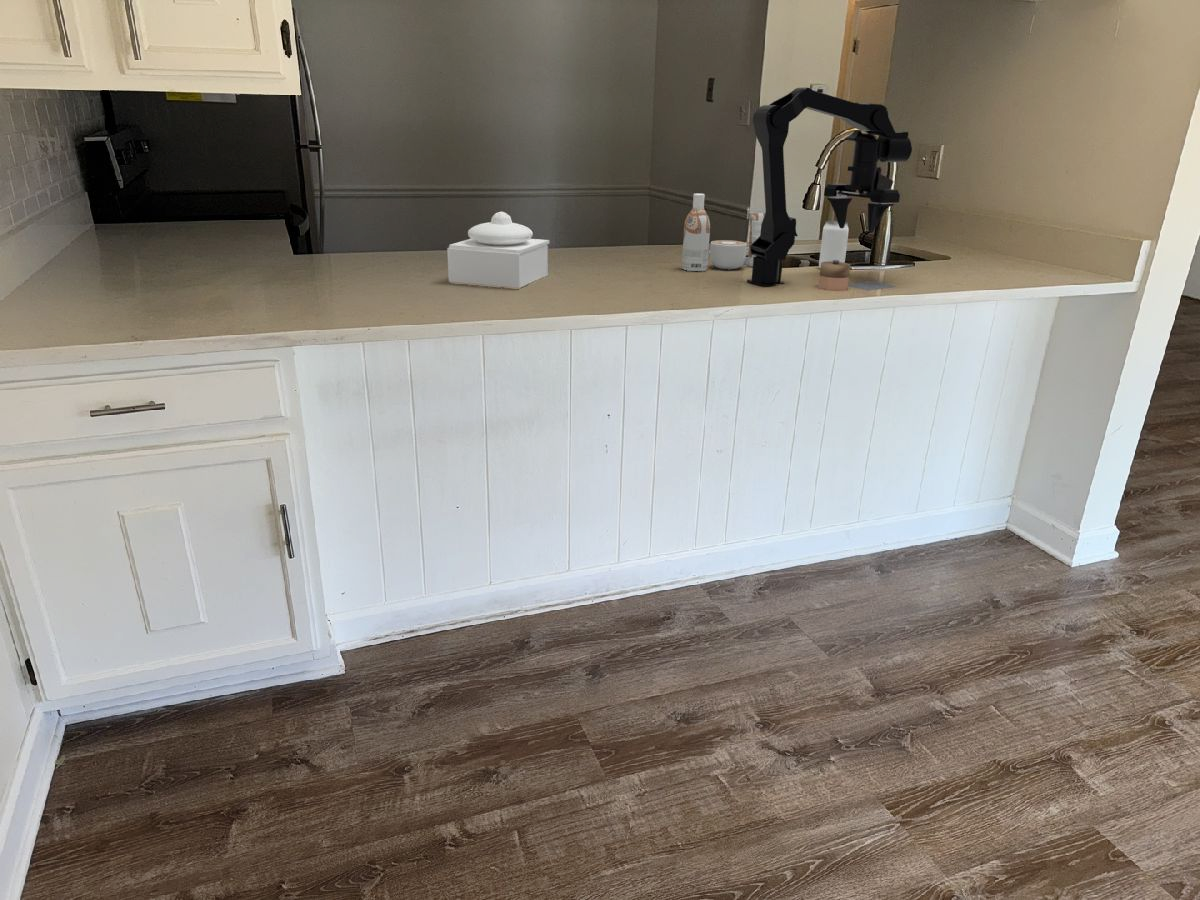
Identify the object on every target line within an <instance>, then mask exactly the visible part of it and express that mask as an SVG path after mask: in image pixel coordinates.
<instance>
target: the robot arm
mask: <svg viewBox="0 0 1200 900" xmlns="http://www.w3.org/2000/svg"><path fill="white" fill-rule="evenodd" d="M805 109H806V110H810V111H813V112H817V113H821V114H824V115H827V116H830V117H834V118H838V119H841V120H842V121H844V122H846V123H847V124H848V125H849V126H851V127H853V128H855V130H853V132H852V133H851V134H850V135H848V136H847V137H846V141H849V142H854V148H853V155H852V162H851V166H850V165H848V167H847V171H848V172H850V179H849V183H827V185H826V186H825V187H824V190H823V191H824V193H823V196H824V197H826V201H829V203H830V204H831V205H830V206H831V207H832V210H833V212H834V215H835V218H836V221H838V224H839V227H840V228H844V226H845V222H847V221H846V220H847V214H848V207H849V205H850V203H851V202H852V200H853V198H852V197H857V198H864V199H869V200H870V202H869V203H867V227H868V228H867V229H868V233H869V234H873V233H874V232H875V229H876V228H877V226H878V223H880V222H879V221H880V220H881V218H882V216H883V215H884V213H885V211H887V209H889V208H890V207H893V206H894V205H895V203H900V199H901V194H900V191H899V189H892V188H893V187H892V186H893V184H894V180H892V179H891V178H889V177H887V176H885V175H883V174H882V166H878V164H879V162H881V163H905V162H907V161H909V159H910V158H911V155H912V152H913V147H912V141H911V139H910V137H909V131H897V132H896V131H895V128H894V126H893V124H892V122H891V120H890V117H889V112H888V108H887V107H886V106H885V105H884V104H880V103H869V102H868V103H865V102H863V103H862V102H852V101H850V100H846V99H842V98H839V97H836V96H833V95H830V94H826V93H824V92H821V91H817V90H813V89H812V88H810V87H805V86H804V87H796V88H794V89H793V90H792V91H790V92H788V93H787V94H785V95H784V96H782V97H780V98H778V99H776V100H775V101H773V102H771V103H770V104H764V105H761V106H759V107H758V108H757V109H756V111H755V112H754V113H753V115H752V123H753V128H754V133H755V136H756V139H757V141H758V143H759V145H760V148H761V155H762V156H761V157H762V169H763V170H762V172H763V173H762V174H763V186H764V187H763V189H764V205H765V209H764V210H766V212H765V216H764V218H763V221H762V224H761V233H760V236H759V237H758V238H757V239H756V240H755V241H754V242H753V243H752V244H751V245H750V251H751V254H752V255H756V257H753V267H752V270H751V279H746V282H747V283H750V284H754V285H757V286H762V287H770V286H771V287H772V286H776V285H782V284H783V285H784V284H785V282H784V281H782V272H783V261H784V260H786V258H787V256H788V253H789V250H790V249H791V248H792V247H793V246H794V244H795V242H796V241H795V240H796V237H798V233H797V229H796V228H797V218H795V217H791V216H789V214H788V212H787V201H786V200H787V199H786V197H787V196H786V194H787V193H786V179H785V177H786V176H785V174H786V173H785V157H784V156H785V155H784V147H785V142H786V141H787V137H788V135H789V127H790V122H792V121H793V120H795V119H796V118H798V117H799V116H800V114H801V113H802V112H803V111H804V110H805ZM856 129H857V130H856ZM862 131H864V132H865V133H862ZM876 136H878V137H877V138H876ZM857 191H858V192H857Z"/></svg>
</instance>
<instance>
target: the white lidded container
mask: <svg viewBox="0 0 1200 900" xmlns="http://www.w3.org/2000/svg"><path fill="white" fill-rule="evenodd" d="M467 235H468V237H469V238H468V239H464V240H462V241H458V242H455V243H451V244H449V245H448V247H447V248H446V249H447V251H446V252H447V268H448V269H447V274H448V282H449V281H451V282H461V283H471V284H480V285H490V286H503V287H516V288H520V287H522V286H524V285H526V284H528V283H531V282H533V281H535V280H538V279H540V278H542V277H545V276H547V275H548V276H549V244H550V239H542V238H541V239H537V238H532V237H533V235H534V232H533V231H532V230H531V228H529V227H528V226H525V225H523V224H520V223H516V222H513V221H512V218H511V215H509V214H508V213H506V212H504V211H499V212H496V213H494V214H493V216H491V220H490V222H489V221H488V222H484V223H479V224H476V225H473V226H472V227H470V228H469V229H468V231H467Z"/></svg>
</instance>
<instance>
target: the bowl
mask: <svg viewBox="0 0 1200 900" xmlns="http://www.w3.org/2000/svg"><path fill="white" fill-rule="evenodd" d="M818 278H819V280H818V289H821V290H827V291H836V292H837V291H847V290H848V287H849V286H848V283H849V279H850V276H849V277H847V278H831V277H824V276H821V275H820V274H819V277H818Z"/></svg>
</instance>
